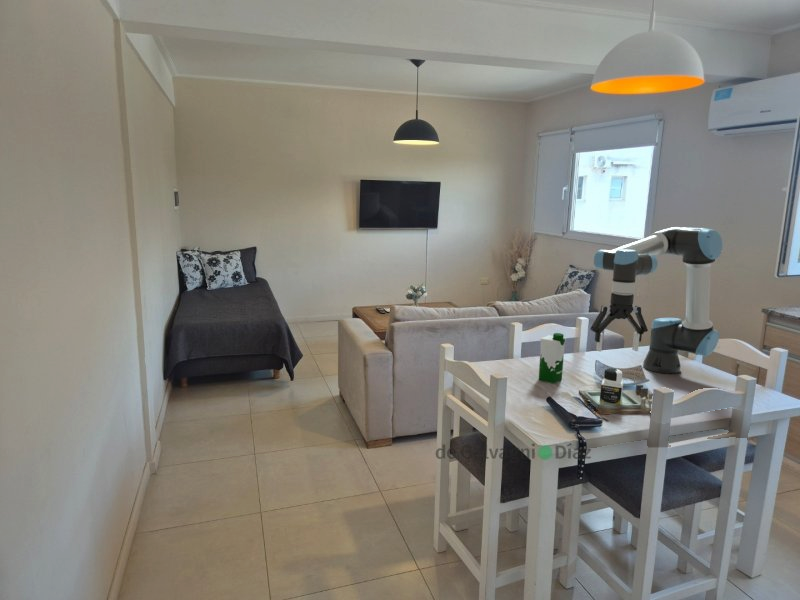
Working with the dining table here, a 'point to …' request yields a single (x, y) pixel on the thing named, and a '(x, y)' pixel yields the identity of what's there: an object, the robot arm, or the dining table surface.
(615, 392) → the medicine bottle
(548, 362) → the milk carton
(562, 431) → the dining table surface
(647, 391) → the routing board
